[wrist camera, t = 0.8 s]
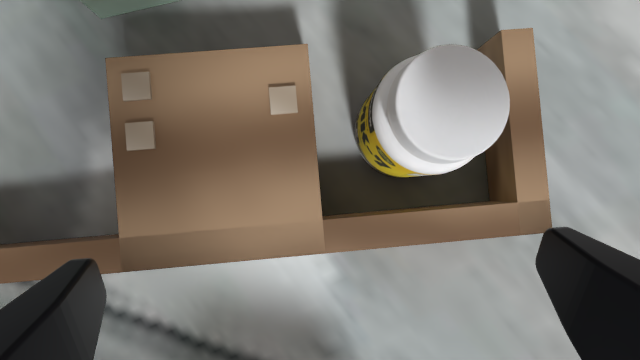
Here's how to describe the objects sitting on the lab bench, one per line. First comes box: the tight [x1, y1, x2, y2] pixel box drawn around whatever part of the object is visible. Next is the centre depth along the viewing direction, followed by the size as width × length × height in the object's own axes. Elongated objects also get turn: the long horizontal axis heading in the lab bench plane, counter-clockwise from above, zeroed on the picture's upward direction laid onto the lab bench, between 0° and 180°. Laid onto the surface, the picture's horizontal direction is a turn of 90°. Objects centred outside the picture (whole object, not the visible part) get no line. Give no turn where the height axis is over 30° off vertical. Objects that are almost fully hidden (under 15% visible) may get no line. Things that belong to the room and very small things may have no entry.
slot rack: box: [0, 28, 552, 284], centre depth 21 cm, size 10×30×3 cm, turn 95°
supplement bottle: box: [355, 44, 510, 177], centre depth 19 cm, size 5×5×8 cm
